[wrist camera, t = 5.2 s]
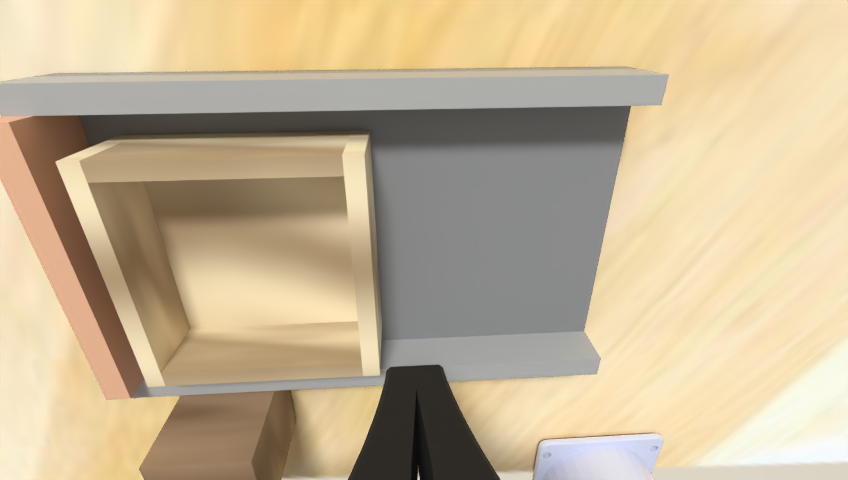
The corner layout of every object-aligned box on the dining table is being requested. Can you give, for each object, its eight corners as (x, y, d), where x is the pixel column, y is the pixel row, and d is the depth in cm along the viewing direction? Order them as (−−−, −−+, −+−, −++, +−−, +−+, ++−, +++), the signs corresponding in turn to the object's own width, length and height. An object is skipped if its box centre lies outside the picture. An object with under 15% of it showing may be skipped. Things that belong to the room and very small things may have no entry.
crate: (381, 324, 21) (379, 375, 18) (184, 333, 20) (147, 386, 17) (369, 130, 17) (364, 154, 13) (119, 135, 16) (55, 161, 13)
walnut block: (296, 418, 25) (269, 525, 20) (217, 422, 25) (169, 532, 19) (284, 360, 23) (251, 462, 18) (198, 364, 23) (139, 468, 17)
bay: (573, 333, 23) (605, 390, 20) (159, 353, 22) (114, 416, 19) (625, 66, 17) (686, 78, 14) (54, 73, 16) (-44, 88, 12)
